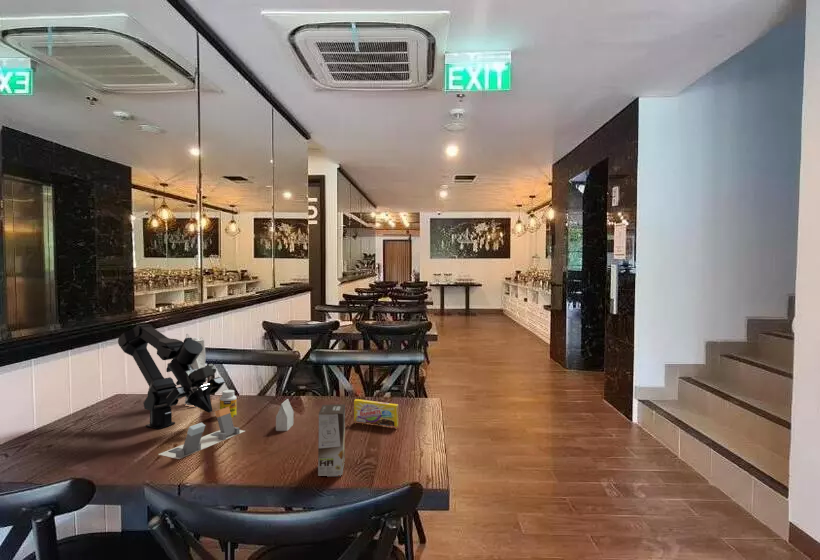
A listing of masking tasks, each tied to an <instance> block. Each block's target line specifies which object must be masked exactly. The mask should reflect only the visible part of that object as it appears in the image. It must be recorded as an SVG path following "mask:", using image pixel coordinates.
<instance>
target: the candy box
mask: <svg viewBox="0 0 820 560" xmlns="http://www.w3.org/2000/svg"><path fill="white" fill-rule="evenodd" d="M353 418H354V421H357V422H364V423H371V424H378V425H386V426H395V427H397V426H398V427H399V404H398V403H390V402H383V401H377V400H376V401H374V400H367V399H359V398H356V399H354V400H353ZM354 421H353V422H354Z"/></svg>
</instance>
